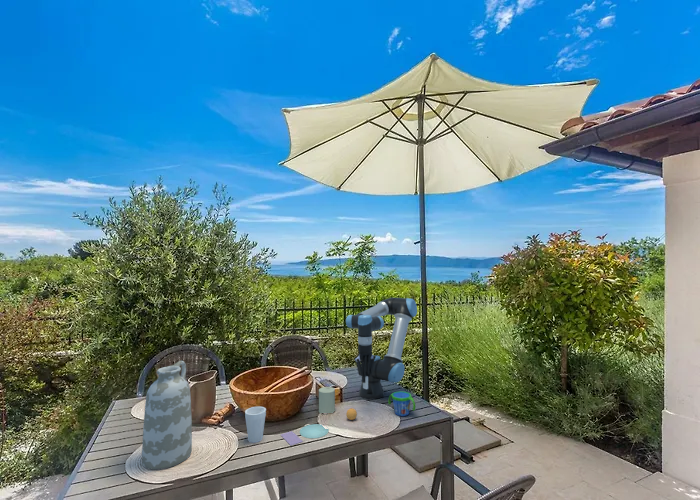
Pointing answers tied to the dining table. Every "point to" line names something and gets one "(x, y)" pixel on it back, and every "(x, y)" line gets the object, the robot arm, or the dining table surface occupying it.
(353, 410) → the ball
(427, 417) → the dining table surface
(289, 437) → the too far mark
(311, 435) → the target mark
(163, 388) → the vase
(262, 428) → the foam cup
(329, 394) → the can
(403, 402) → the snack cup
